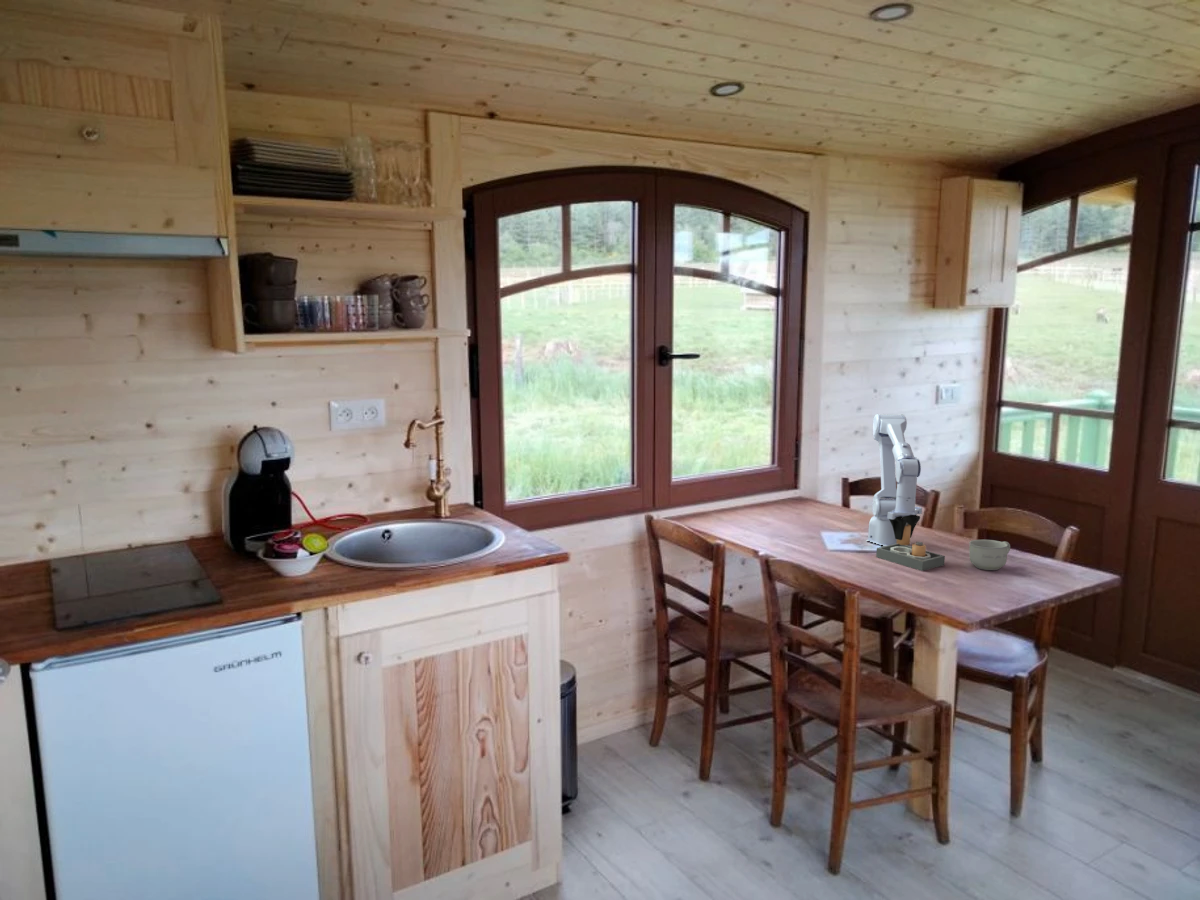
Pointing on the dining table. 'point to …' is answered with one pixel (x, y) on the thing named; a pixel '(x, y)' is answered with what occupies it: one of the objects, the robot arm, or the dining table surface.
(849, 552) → the dining table surface
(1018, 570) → the dining table surface
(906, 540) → the orange battery
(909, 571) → the dining table surface
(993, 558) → the teacup
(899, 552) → the housing
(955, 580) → the dining table surface
